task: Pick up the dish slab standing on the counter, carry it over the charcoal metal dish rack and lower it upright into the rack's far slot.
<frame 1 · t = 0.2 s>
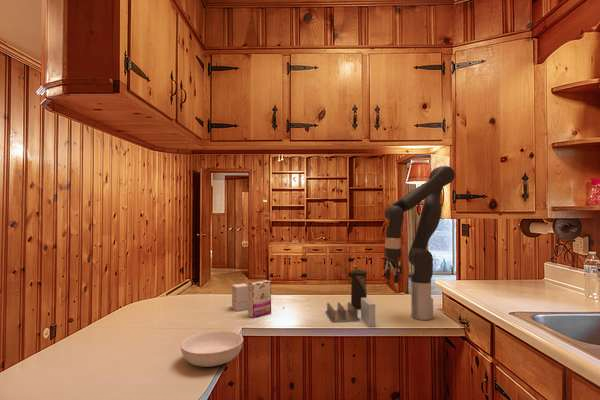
hand: (391, 281, 165), 18 cm above the table, tool pointing down, fingers open, 8 cm apart
serving bowl: (212, 361, 119), on the table
dish rack: (341, 316, 168), on the table
candy bar box: (259, 315, 171), on the table
dish slab: (368, 322, 159), on the table
container: (358, 307, 184), on the table
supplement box: (240, 309, 182), on the table
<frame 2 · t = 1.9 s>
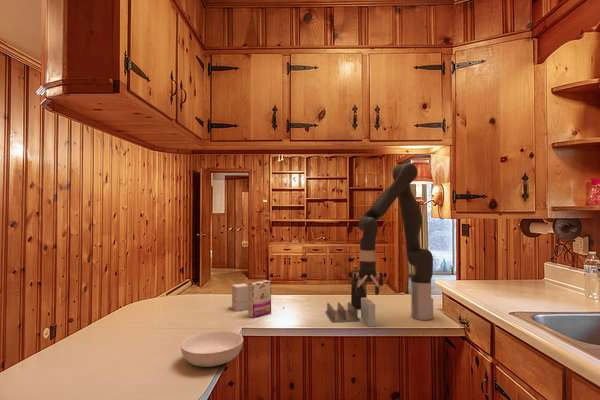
hand: (367, 294, 159), 13 cm above the table, tool pointing down, fingers open, 8 cm apart
nothing on the table moved.
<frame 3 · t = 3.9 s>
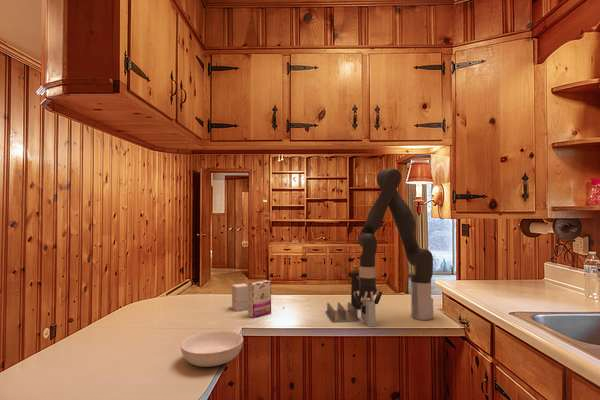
hand: (367, 313, 159), 4 cm above the table, tool pointing down, fingers closed on dish slab, 3 cm apart
dish slab: (368, 322, 159), on the table, touching gripper
everything else where it was.
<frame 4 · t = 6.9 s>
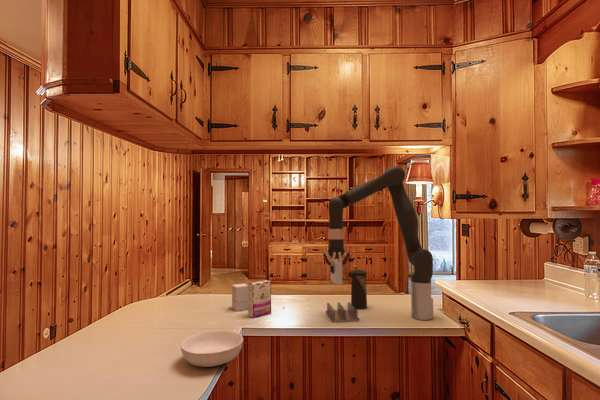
hand: (336, 273, 168), 21 cm above the table, tool pointing down, fingers closed on dish slab, 3 cm apart
dish slab: (336, 281, 168), point 17 cm above the table, touching gripper
everything else where it was.
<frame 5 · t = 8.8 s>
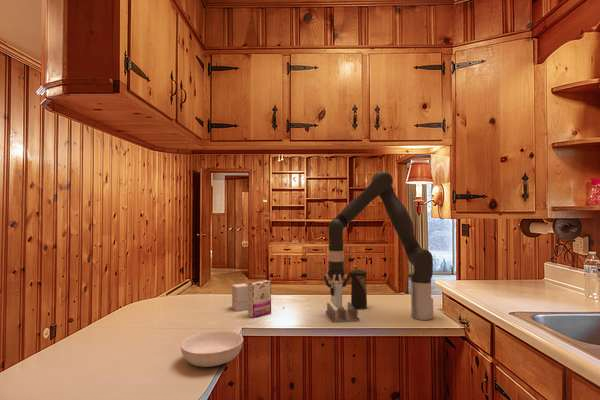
hand: (336, 295, 168), 10 cm above the table, tool pointing down, fingers closed on dish slab, 3 cm apart
dish slab: (336, 304, 167), point 6 cm above the table, touching gripper
everything else where it was.
when the fingers open (7 cm above the table, at t = 10.3 s): dish slab drops 1 cm, resting on dish rack.
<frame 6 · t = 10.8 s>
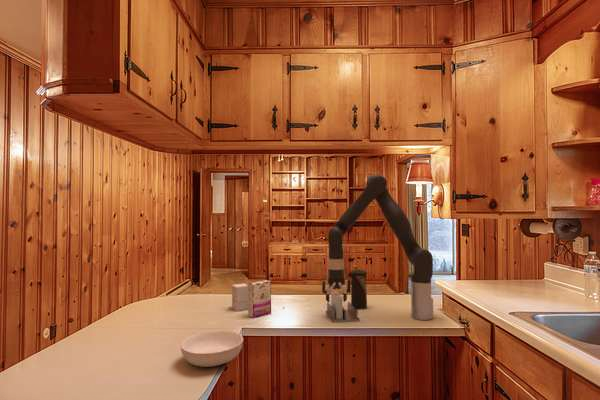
hand: (336, 301, 168), 7 cm above the table, tool pointing down, fingers open, 7 cm apart
dish slab: (336, 314, 167), point 1 cm above the table, touching dish rack
everything else where it was.
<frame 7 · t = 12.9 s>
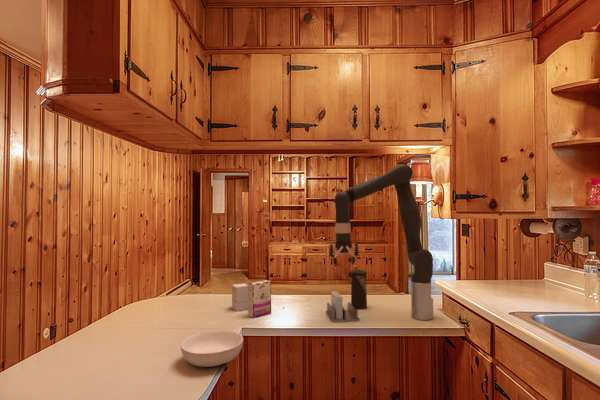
hand: (344, 264, 169), 25 cm above the table, tool pointing down, fingers open, 8 cm apart
nothing on the table moved.
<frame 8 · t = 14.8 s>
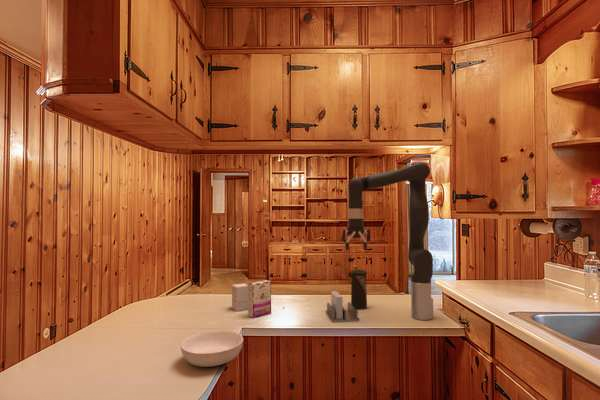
hand: (356, 250, 172), 32 cm above the table, tool pointing down, fingers open, 8 cm apart
nothing on the table moved.
at the end: dish slab 0.2 cm from the target spot on the dish rack, point 1.0 cm above the dish rack's base; dish slab tilted 0°; the gripper is holding nothing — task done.
